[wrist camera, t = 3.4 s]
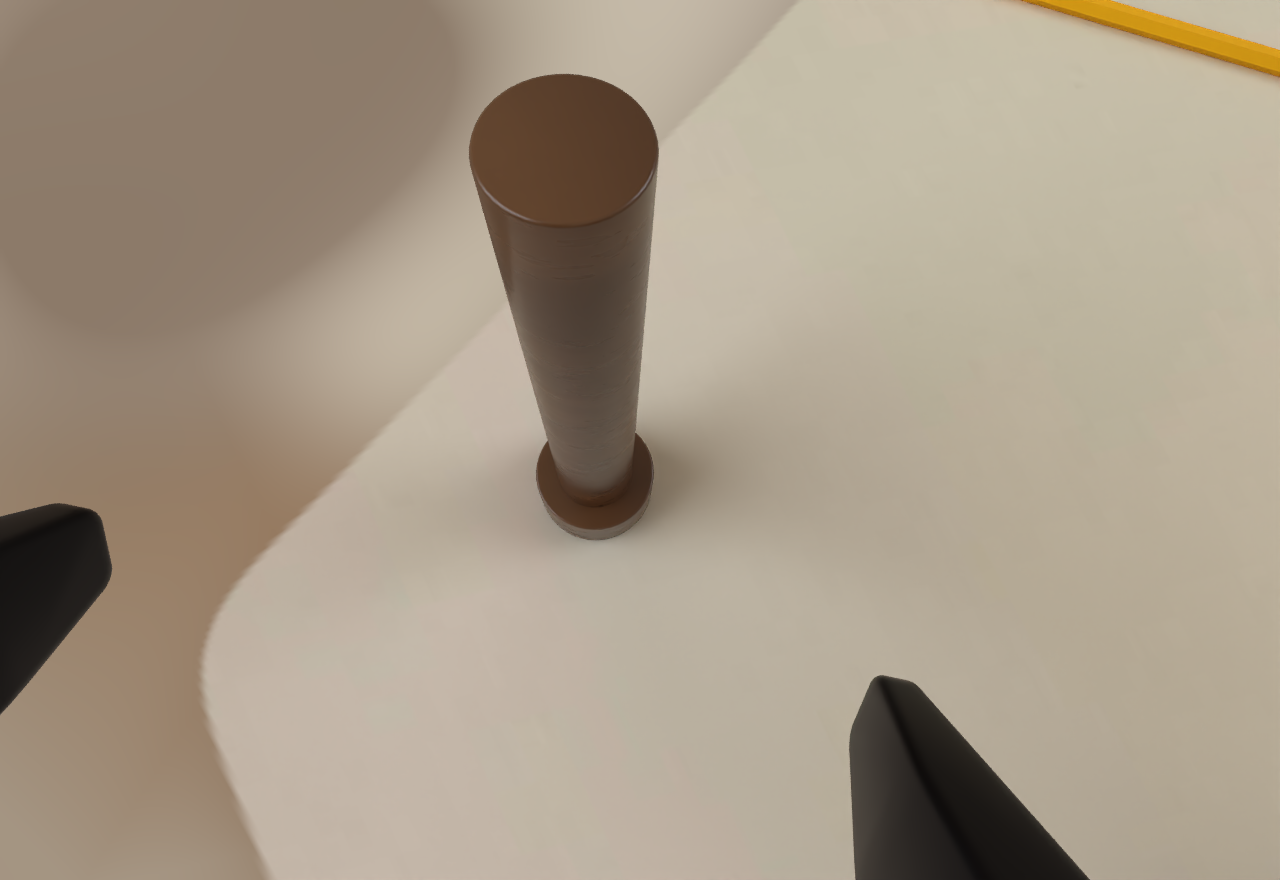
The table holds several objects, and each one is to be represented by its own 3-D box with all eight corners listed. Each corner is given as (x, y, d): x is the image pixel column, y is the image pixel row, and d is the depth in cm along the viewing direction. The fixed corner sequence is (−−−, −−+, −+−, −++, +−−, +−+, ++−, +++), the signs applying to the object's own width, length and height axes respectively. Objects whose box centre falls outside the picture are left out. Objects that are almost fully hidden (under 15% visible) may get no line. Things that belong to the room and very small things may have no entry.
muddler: (584, 562, 20) (524, 337, 7) (520, 475, 20) (351, 118, 7) (673, 496, 20) (777, 172, 7) (607, 414, 21) (596, -11, 8)
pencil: (927, -39, 28) (934, -55, 27) (1392, 99, 26) (1412, 85, 26) (922, -25, 28) (930, -42, 27) (1392, 115, 26) (1412, 101, 25)
